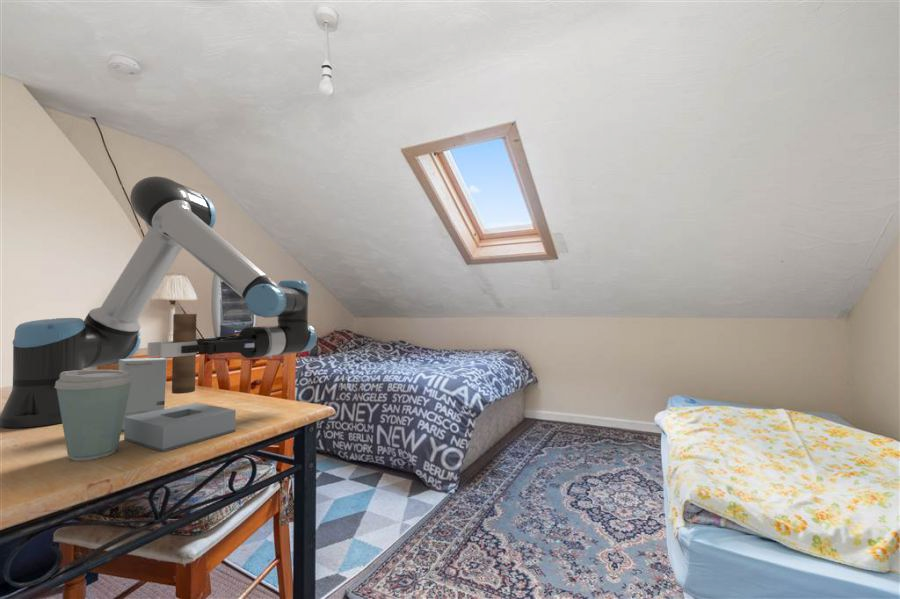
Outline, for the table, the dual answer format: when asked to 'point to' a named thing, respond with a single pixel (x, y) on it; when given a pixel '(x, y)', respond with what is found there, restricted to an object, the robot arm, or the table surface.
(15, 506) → the table surface
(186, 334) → the walnut dowel
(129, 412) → the skincare box
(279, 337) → the robot arm
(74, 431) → the disposable coffee cup
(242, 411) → the table surface
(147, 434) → the bore block
